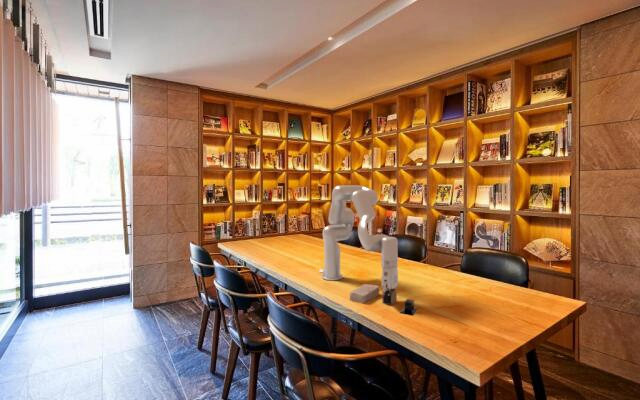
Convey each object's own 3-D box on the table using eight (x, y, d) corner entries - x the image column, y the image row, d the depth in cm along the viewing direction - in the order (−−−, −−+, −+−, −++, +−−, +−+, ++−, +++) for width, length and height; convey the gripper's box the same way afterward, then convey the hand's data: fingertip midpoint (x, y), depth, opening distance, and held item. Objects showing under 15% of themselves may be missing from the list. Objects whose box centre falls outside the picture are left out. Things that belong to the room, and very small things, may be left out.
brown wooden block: (382, 303, 154) (382, 290, 154) (386, 299, 159) (386, 287, 158) (392, 305, 152) (392, 292, 152) (396, 301, 156) (396, 289, 156)
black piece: (405, 305, 153) (405, 295, 153) (422, 308, 149) (422, 297, 149) (396, 315, 141) (396, 304, 141) (414, 318, 138) (414, 307, 137)
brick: (363, 304, 154) (363, 294, 154) (348, 300, 159) (348, 291, 159) (379, 295, 167) (379, 285, 167) (365, 291, 172) (365, 283, 172)
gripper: (390, 268, 145) (390, 308, 146) (403, 260, 160) (403, 297, 160) (374, 266, 149) (375, 305, 150) (388, 258, 164) (388, 294, 164)
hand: (389, 300), depth 155 cm, fingers closed on brown wooden block, 5 cm apart
